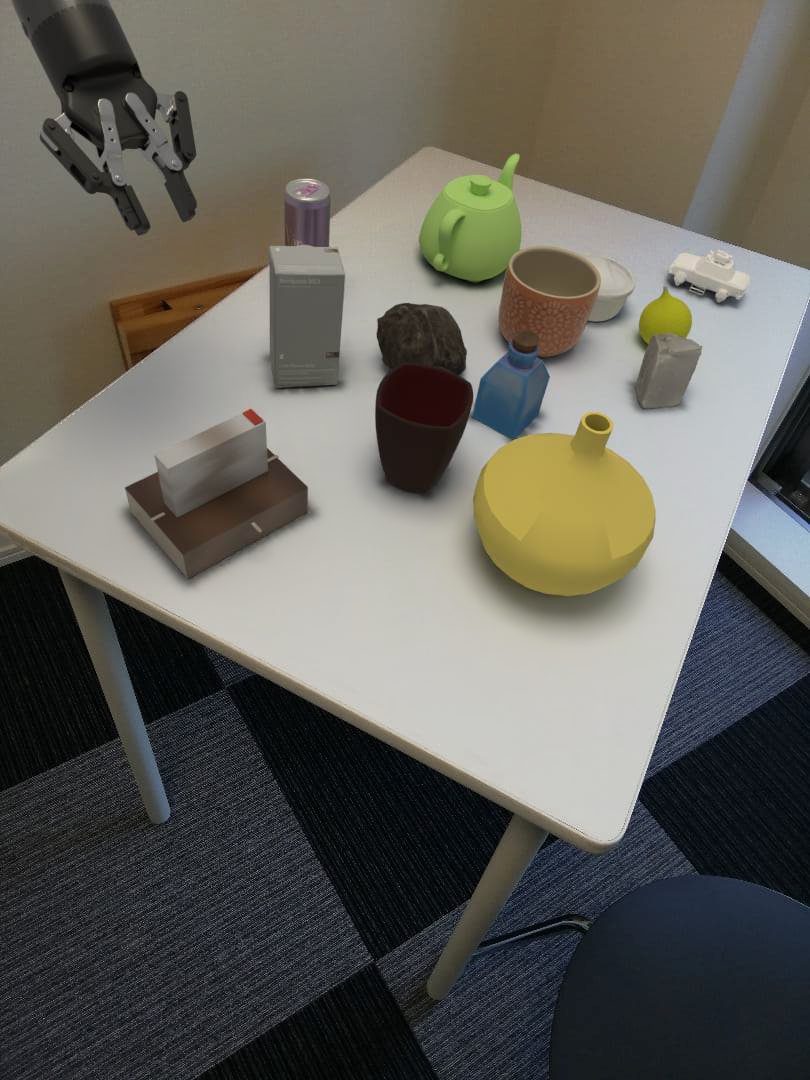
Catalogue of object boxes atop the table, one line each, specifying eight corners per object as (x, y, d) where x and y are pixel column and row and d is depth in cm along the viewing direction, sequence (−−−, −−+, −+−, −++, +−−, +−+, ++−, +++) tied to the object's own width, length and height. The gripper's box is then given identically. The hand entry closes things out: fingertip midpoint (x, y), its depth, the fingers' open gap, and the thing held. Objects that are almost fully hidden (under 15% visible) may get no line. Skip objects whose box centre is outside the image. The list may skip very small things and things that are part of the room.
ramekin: (639, 315, 115) (651, 283, 111) (585, 335, 110) (596, 303, 106) (588, 276, 121) (599, 245, 116) (535, 294, 116) (544, 262, 112)
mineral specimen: (700, 397, 103) (716, 352, 96) (644, 419, 102) (656, 375, 95) (669, 362, 107) (682, 317, 100) (615, 383, 106) (624, 338, 99)
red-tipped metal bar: (177, 518, 76) (167, 466, 71) (164, 503, 77) (153, 452, 72) (268, 470, 82) (265, 420, 76) (255, 457, 83) (251, 406, 77)
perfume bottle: (497, 393, 100) (516, 314, 91) (537, 415, 98) (562, 337, 89) (471, 417, 97) (489, 338, 87) (513, 440, 95) (536, 361, 86)
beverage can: (335, 290, 111) (340, 188, 99) (311, 308, 108) (312, 205, 96) (302, 274, 113) (303, 173, 101) (277, 292, 109) (274, 189, 98)
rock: (478, 385, 99) (478, 316, 92) (395, 405, 98) (389, 337, 90) (451, 344, 106) (450, 277, 99) (373, 362, 104) (366, 295, 97)
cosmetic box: (274, 390, 96) (270, 277, 84) (269, 354, 100) (264, 242, 88) (341, 386, 98) (347, 275, 86) (333, 351, 102) (337, 241, 90)
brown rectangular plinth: (198, 593, 76) (194, 568, 73) (120, 501, 82) (112, 474, 79) (320, 523, 83) (321, 497, 80) (239, 443, 90) (237, 416, 86)
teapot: (463, 215, 129) (477, 134, 118) (542, 248, 124) (564, 167, 114) (391, 270, 116) (400, 184, 106) (477, 308, 112) (494, 223, 102)
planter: (538, 380, 103) (559, 309, 94) (473, 332, 108) (488, 262, 100) (596, 348, 109) (621, 279, 100) (532, 304, 114) (551, 236, 106)
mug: (357, 490, 87) (364, 409, 78) (397, 415, 95) (407, 334, 86) (440, 516, 86) (457, 438, 76) (473, 438, 94) (491, 359, 85)
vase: (629, 640, 78) (706, 517, 63) (451, 604, 78) (486, 473, 63) (627, 508, 89) (691, 379, 75) (472, 477, 90) (506, 343, 75)
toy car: (672, 267, 125) (689, 228, 120) (744, 294, 122) (764, 255, 117) (661, 283, 121) (677, 244, 116) (735, 312, 118) (755, 272, 113)
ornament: (624, 330, 112) (647, 268, 105) (666, 327, 114) (693, 266, 106) (645, 361, 108) (671, 299, 100) (689, 357, 110) (718, 296, 102)
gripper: (-8, 12, 59) (103, 232, 63) (159, -11, 66) (249, 189, 70) (-16, 63, 65) (86, 261, 69) (137, 37, 72) (220, 219, 76)
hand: (167, 224), depth 70 cm, fingers open, 4 cm apart
